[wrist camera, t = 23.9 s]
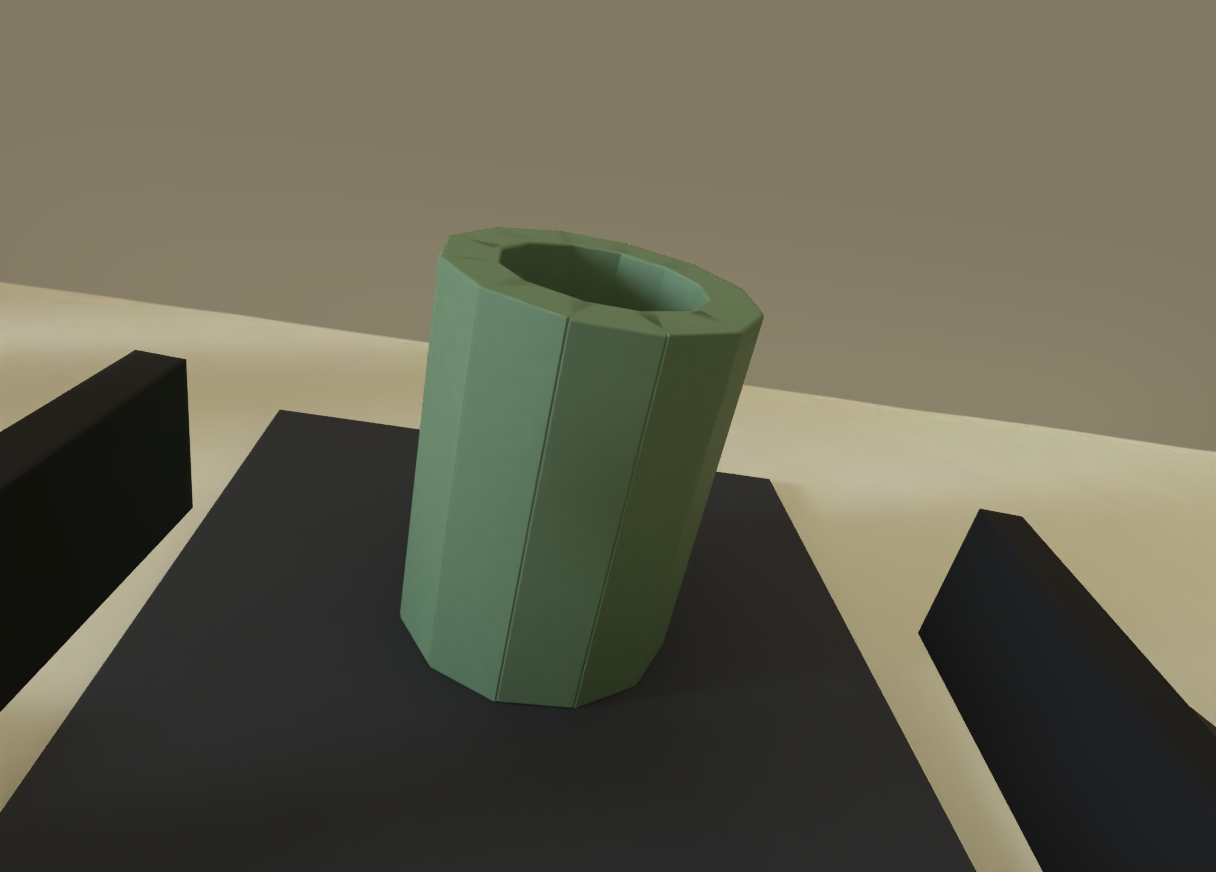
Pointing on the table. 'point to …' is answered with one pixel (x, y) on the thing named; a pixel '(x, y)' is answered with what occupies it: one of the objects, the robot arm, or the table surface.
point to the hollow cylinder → (565, 457)
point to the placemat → (464, 711)
